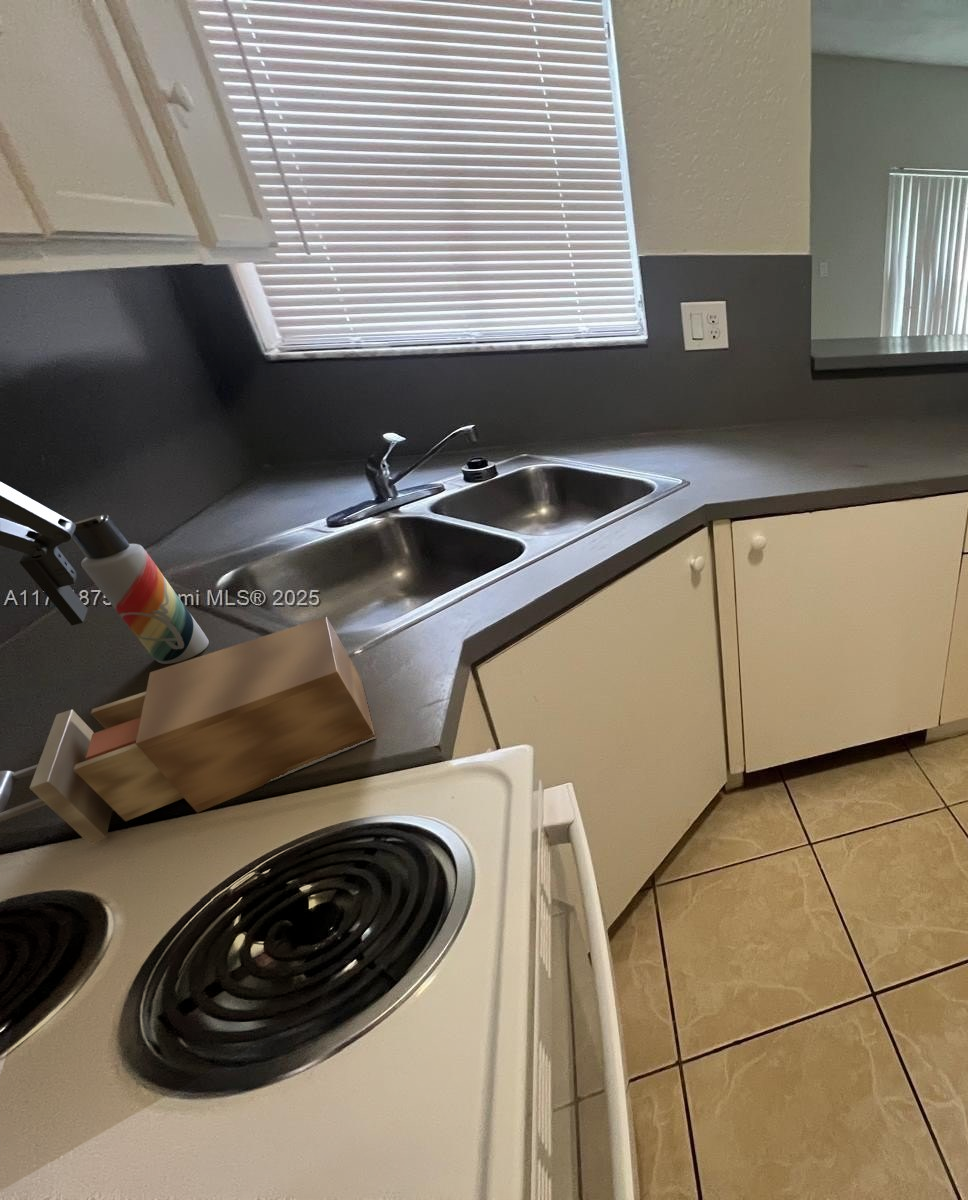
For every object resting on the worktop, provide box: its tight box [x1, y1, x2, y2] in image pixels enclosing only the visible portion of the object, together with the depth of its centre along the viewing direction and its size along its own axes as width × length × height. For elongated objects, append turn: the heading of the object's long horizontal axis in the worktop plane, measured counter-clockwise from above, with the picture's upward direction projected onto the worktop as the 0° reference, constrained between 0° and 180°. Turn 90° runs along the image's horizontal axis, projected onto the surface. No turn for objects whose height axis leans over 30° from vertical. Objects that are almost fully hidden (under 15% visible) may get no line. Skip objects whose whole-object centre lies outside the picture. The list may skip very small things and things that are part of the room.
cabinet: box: [136, 616, 376, 814], centre depth 67 cm, size 16×13×10 cm
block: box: [86, 717, 141, 760], centre depth 62 cm, size 4×4×6 cm
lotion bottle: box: [71, 513, 210, 665], centre depth 79 cm, size 6×6×20 cm
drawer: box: [0, 691, 184, 845], centre depth 62 cm, size 20×12×8 cm, turn 127°
